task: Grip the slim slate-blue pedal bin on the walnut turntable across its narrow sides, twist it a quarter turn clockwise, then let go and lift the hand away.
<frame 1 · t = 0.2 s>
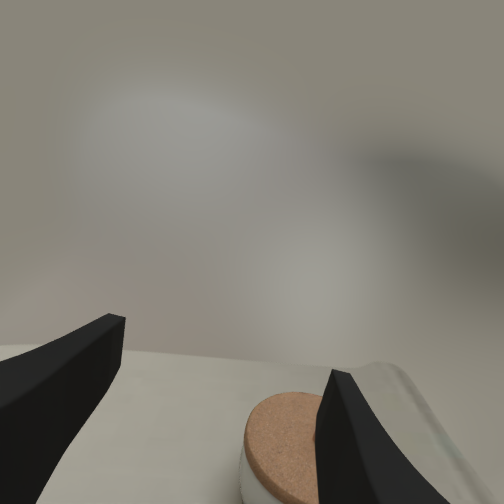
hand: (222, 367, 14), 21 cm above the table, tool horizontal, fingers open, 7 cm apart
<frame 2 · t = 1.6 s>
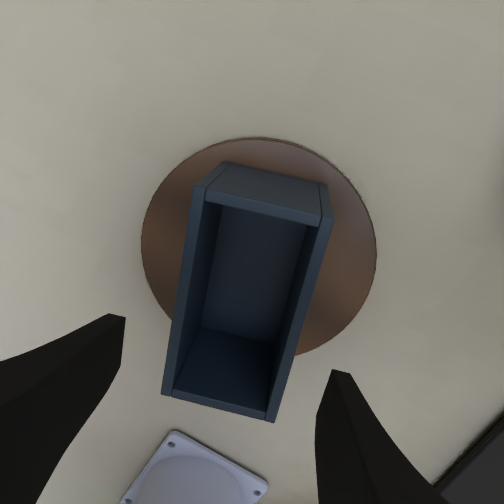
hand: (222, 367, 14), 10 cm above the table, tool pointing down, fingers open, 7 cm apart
turntable: (256, 255, 24), on the table
bin: (244, 296, 20), point 4 cm above the table, hinge at 0.0°
phone: (497, 489, 28), on the table
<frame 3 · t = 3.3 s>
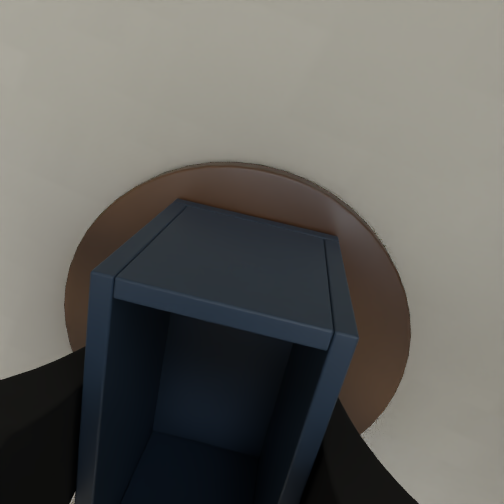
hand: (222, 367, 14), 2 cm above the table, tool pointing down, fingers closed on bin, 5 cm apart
turntable: (233, 329, 17), on the table
bin: (208, 413, 13), point 4 cm above the table, hinge at 0.0°, touching gripper
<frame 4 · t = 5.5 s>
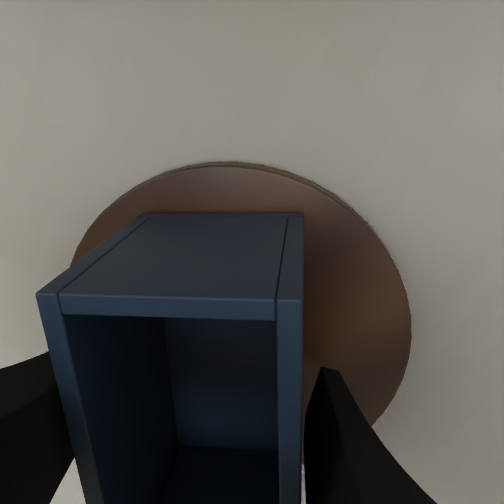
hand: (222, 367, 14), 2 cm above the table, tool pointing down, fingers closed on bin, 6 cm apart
turntable: (233, 329, 16), on the table
bin: (213, 415, 13), point 4 cm above the table, hinge at -75.9°, touching gripper
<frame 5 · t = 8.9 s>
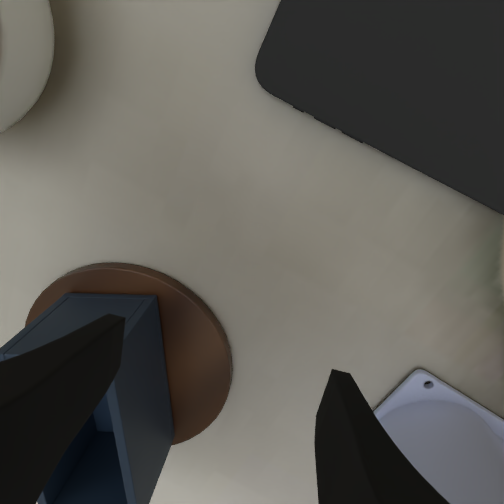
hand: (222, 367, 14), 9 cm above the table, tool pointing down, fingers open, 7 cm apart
turntable: (129, 358, 26), on the table
bin: (102, 411, 23), point 4 cm above the table, hinge at -76.2°
phone: (434, 80, 19), on the table
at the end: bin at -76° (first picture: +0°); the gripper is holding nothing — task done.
